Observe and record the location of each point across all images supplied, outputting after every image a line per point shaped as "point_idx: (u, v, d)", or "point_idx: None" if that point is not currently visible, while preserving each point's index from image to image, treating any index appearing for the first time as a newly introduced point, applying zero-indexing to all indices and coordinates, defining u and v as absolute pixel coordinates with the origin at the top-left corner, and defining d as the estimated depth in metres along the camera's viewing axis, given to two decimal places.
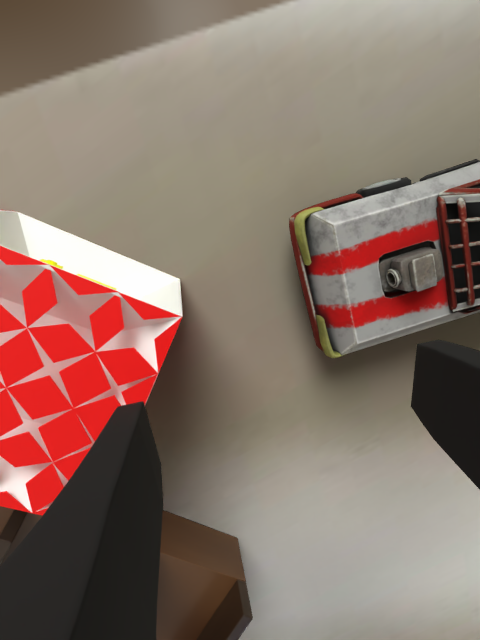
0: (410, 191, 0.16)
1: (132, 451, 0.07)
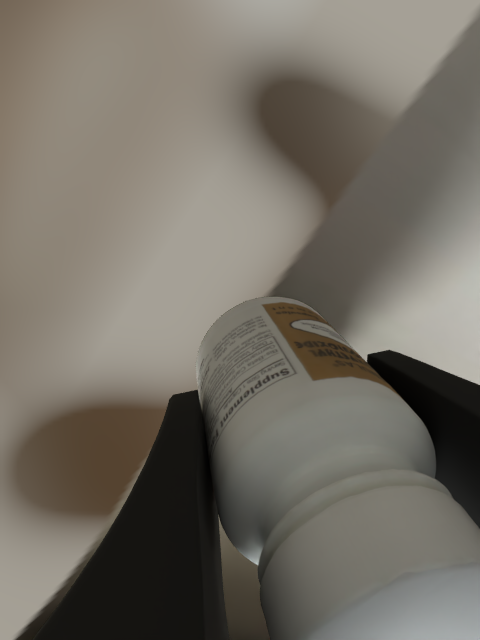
0: None
1: (200, 436, 0.07)
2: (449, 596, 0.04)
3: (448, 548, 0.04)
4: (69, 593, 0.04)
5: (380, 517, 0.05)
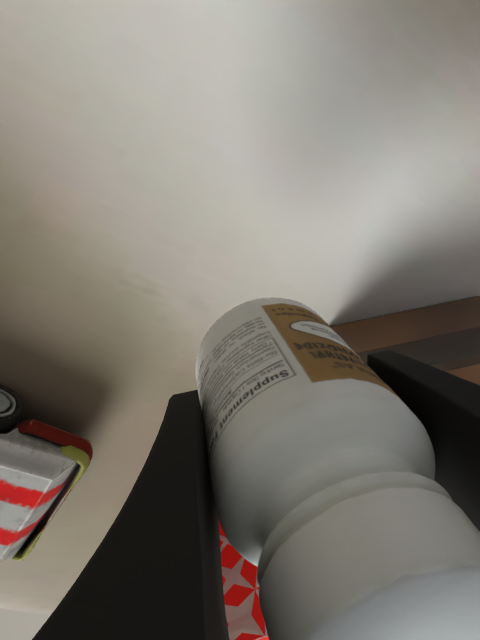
0: None
1: (199, 436, 0.07)
2: (448, 598, 0.04)
3: (447, 551, 0.04)
4: (68, 593, 0.04)
5: (379, 519, 0.05)
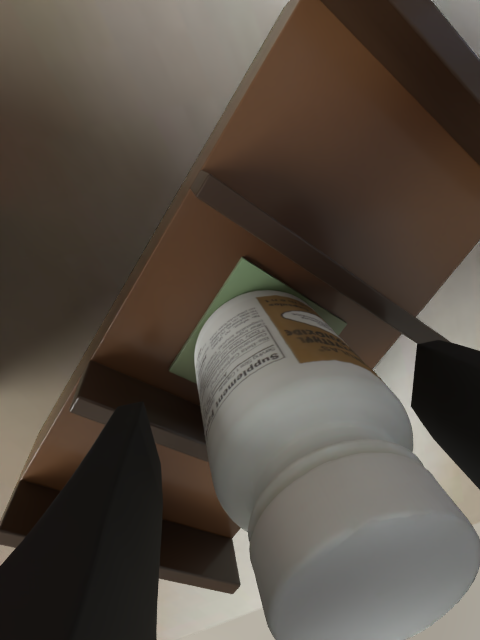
0: None
1: (132, 451, 0.07)
2: (412, 544, 0.05)
3: (411, 501, 0.05)
4: None
5: (354, 477, 0.05)
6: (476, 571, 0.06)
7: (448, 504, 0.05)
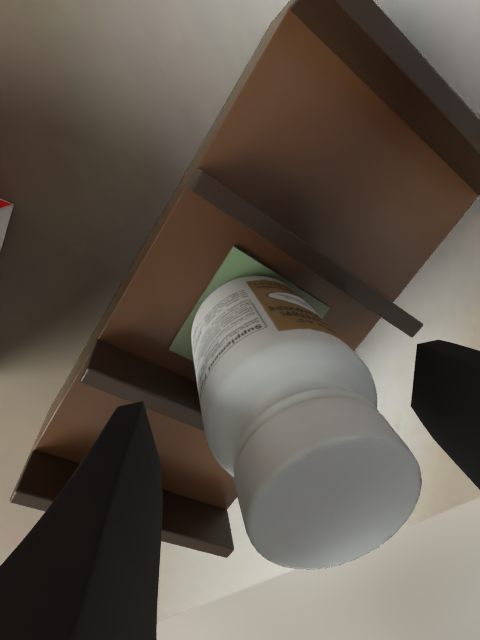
0: None
1: (132, 451, 0.07)
2: (361, 464, 0.06)
3: (359, 429, 0.06)
4: None
5: (316, 413, 0.07)
6: (418, 493, 0.07)
7: (391, 434, 0.07)
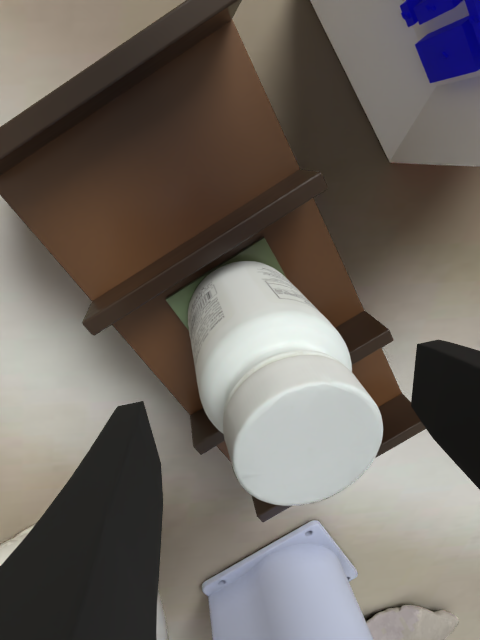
0: None
1: (132, 451, 0.07)
2: (342, 470, 0.08)
3: (361, 469, 0.09)
4: None
5: None
6: (278, 503, 0.09)
7: None
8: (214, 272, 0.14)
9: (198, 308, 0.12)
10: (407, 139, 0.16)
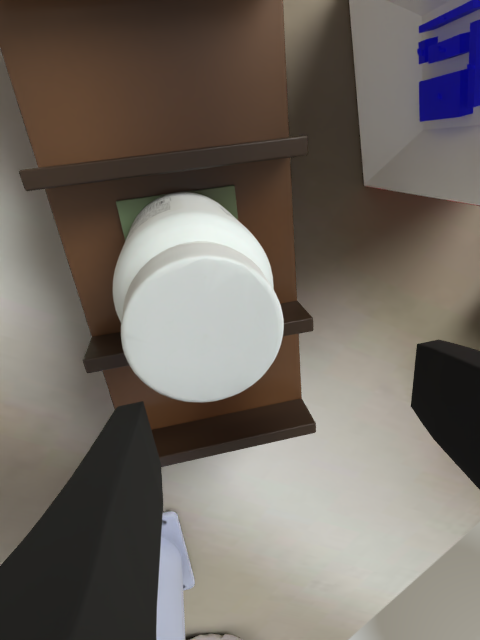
0: None
1: (132, 451, 0.07)
2: (228, 376, 0.08)
3: (245, 386, 0.09)
4: None
5: None
6: (152, 386, 0.08)
7: None
8: (174, 193, 0.13)
9: (146, 211, 0.12)
10: (385, 168, 0.17)
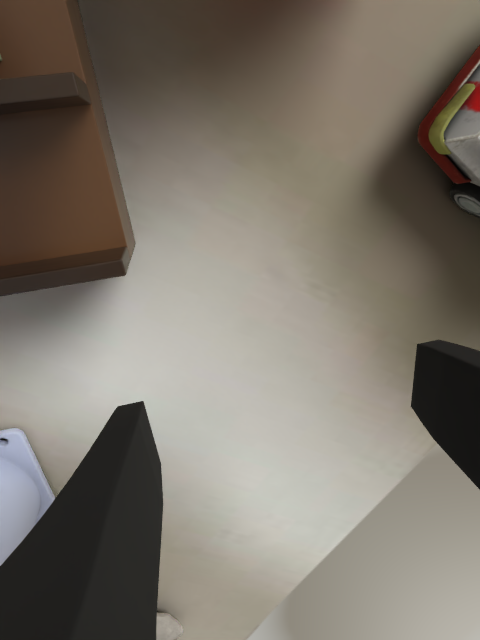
0: None
1: (132, 451, 0.07)
2: None
3: None
4: None
5: None
6: None
7: None
8: None
9: None
10: None
